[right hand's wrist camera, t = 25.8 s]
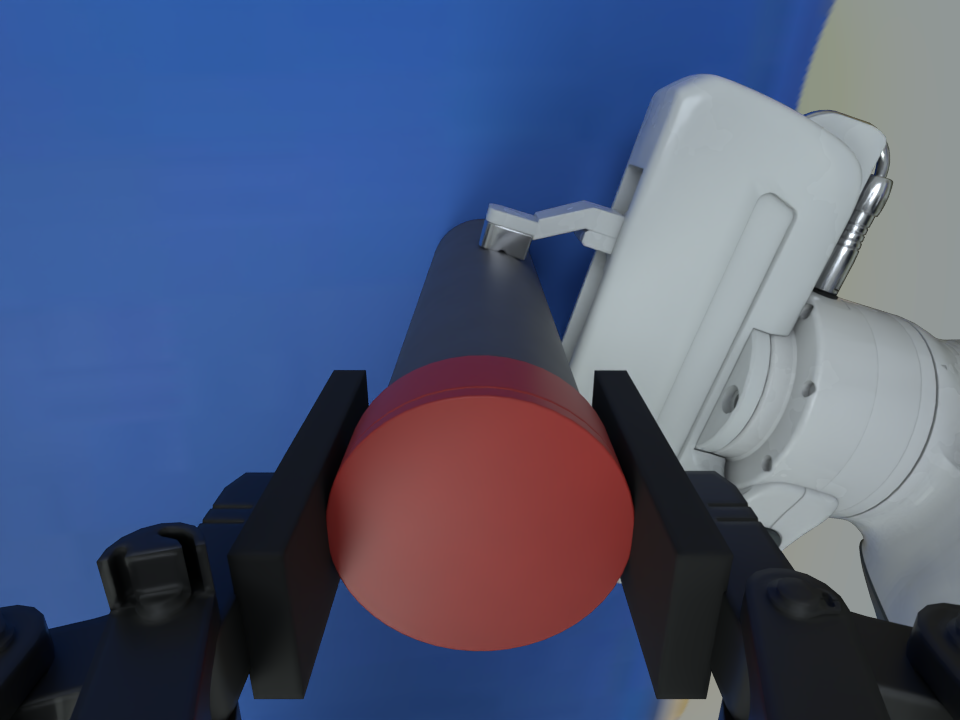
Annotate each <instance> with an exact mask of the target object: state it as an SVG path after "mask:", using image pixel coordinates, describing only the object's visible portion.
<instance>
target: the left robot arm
mask: <svg viewBox="0 0 960 720" xmlns="http://www.w3.org/2000/svg"><path fill="white" fill-rule="evenodd" d="M875 165H876V169H875V173H874V175H873V174H871V173H872V171H873V169H874V167H875ZM889 165H890V152H889V147H888V144H887V141H886V137H885V135H884V134H883V133H882V132H881V131H880V130H879V129H878V128H877V127H875V126H874V125H872V124H871V123H868V122H866V121H863V120H860V119H857V118H854V117H851V116H848V115H845V114H843V113H840V112H837V111H832V110H818V111H813V112H810V113H807V114H804V115H802V114H800V113H798V112H797V111H795V110H793V109H791V108H789V107H788V106H786V105H784V104H782V103H780V102H778V101H776V100H774V99H772V98H770V97H768V96H766V95H764V94H762V93H760V92H758V91H755V90H753V89H751V88H748V87H746V86H744V85H741V84H739V83H737V82H734V81H732V80H729V79H726V78H723V77H720V76H717V75H712V74H695V75H690V76H687V77H684V78H682V79H679V80H677V81H675V82H673V83H671V84H669V85H667V86H665V87H663V88H661V89H659V90H658V91H657V92H656V93H655V94H654V95H653V97H652V99H651V102H650V104H649V107H648V109H647V112H646V115H645V117H644V120H643V123H642V125H641V128H640V131H639V134H638V136H637V139H636V142H635V144H634V147H633V150H632V152H631V155H630V158H629V160H628V163H627V166H626V168H625V171H624V174H623V177H622V179H621V182H620V185H619V187H618V190H617V193H616V195H615V198H614V201H613V203H612V206H611V208H608V207H605V206H602V205H598V204H595V203H592V202H588V201H585V200H582V201H578V202H574V203H570V204H566V205H562V206H558V207H554V208H550V209H546V210H542V211H538V212H535V214H534V215H531V214H528V213H524V212H521V211H518V210H515V209H511V208H508V207H505V206H502V205H498V204H492V203H489V207H488V210H487V214H486V217H485V220H484V224H483V228H482V231H481V235H480V239H479V245H480V246H481V247H483V248H485V249H488V250H491V251H500V250H504V252H505V253H506V254H507V255H509V256H511V257H514V258H518V259H521V260H525V258H526V255H527V252H528V249H529V246H530V243H531V241H532V239H533V240H536V239H541V238H545V237H550V236H555V235H559V234H564V233H568V232H573V231H574V234H575V236H576V237H577V238H578V239H579V241H580V242H581V243H582V244H583V245H584V246H586V247H590V248H593V249H595V252H594V255H593V257H592V260H591V263H590V265H589V268H588V271H587V273H586V276H585V279H584V282H583V284H582V287H581V290H580V292H579V295H578V298H577V300H576V303H575V306H574V308H573V311H572V314H571V317H570V319H569V322H568V325H567V327H566V330H565V333H564V335H563V338H562V341H561V343H562V345H563V348H564V351H565V354H566V357H567V359H568V362H569V365H570V368H571V371H572V373H573V376H574V379H575V382H576V385H577V387H578V390H579V393H580V394H581V395H582V396H583V397H584V398H585V399H586V400H587V401H588V403H589V404H590V405H591V406H592V397H593V383H594V370H627V372H628V374H629V376H630V377H631V379H632V381H633V383H634V384H635V386H636V388H637V389H638V391H639V393H640V395H641V396H642V398H643V400H644V402H645V403H646V405H647V407H648V408H649V410H650V412H651V414H652V415H653V417H654V419H655V420H656V422H657V424H658V426H659V427H660V429H661V431H662V433H663V434H664V436H665V438H666V439H667V441H668V443H669V445H670V446H671V448H672V450H673V452H674V453H675V455H676V457H677V458H678V460H679V462H680V464H681V465H682V467H683V469H684V470H685V471H716V472H717V473H719V474H720V475H721V476H723V477H724V478H726V479H727V480H728V481H730V482H731V483H733V484H734V485H735V486H736V487H737V488H738V490H739V491H740V492H741V494H742V495H743V497H744V498H745V500H746V501H747V503H748V507H751V508H752V510H753V511H754V513H755V514H756V515H757V517H758V521H759V522H761V523H762V524H763V526H764V527H765V528H766V530H767V531H768V533H769V534H770V536H771V537H772V538H773V540H774V541H775V543H776V544H777V546H778V547H779V549H780V550H781V551H782V550H784V549H785V548H786V547H787V546H789V545H790V544H791V543H793V542H794V541H796V540H797V539H798V538H800V537H801V536H802V535H804V534H805V533H807V532H809V531H810V530H812V529H813V528H815V527H816V526H818V525H819V524H821V523H822V522H823V521H825V520H826V519H827V518H828V517H830V518H837V519H844V520H847V521H849V522H851V523H852V524H854V525H855V526H856V527H857V528H858V530H859V531H860V532H861V533H862V535H863V538H864V539H862V540H861V542H860V546H859V549H860V557H861V563H862V568H863V572H864V576H865V580H866V583H867V587H868V590H869V594H870V597H871V600H872V603H873V606H874V609H875V612H876V616H877V619H880V620H885V621H889V622H893V623H898V624H902V625H907V626H911V627H913V625H914V622H915V619H916V616H917V614H918V612H919V611H920V610H921V609H923V608H924V607H925V606H926V605H930V604H937V603H950V604H957V605H960V340H941V339H937V338H935V337H933V336H932V335H931V334H930V333H928V332H927V331H925V330H924V329H923V328H921V327H920V326H918V325H916V324H915V323H913V322H911V321H909V320H906V319H904V318H902V317H900V316H897V315H893V314H890V313H887V312H884V311H881V310H877V309H874V308H871V307H868V306H864V305H861V304H858V303H855V302H851V301H848V300H845V299H842V298H839V297H837V296H836V295H837V293H838V292H839V290H840V288H841V286H842V284H843V282H844V280H845V279H846V277H847V275H848V273H849V271H850V269H851V267H852V265H853V264H854V262H855V259H856V257H857V255H858V253H859V251H858V250H859V249H860V248H861V245H862V244H861V242H863V240H864V238H865V237H864V235H866V233H867V231H868V228H869V227H870V225H871V224H872V222H873V220H874V218H875V217H877V216H878V215H879V214H880V212H881V211H882V209H883V207H884V206H885V204H886V202H887V200H888V197H889V195H890V192H891V189H892V185H893V181H892V180H890V179H888V178H886V176H887V173H888V170H889ZM617 583H621V579H619V580H618V582H617ZM621 584H622V583H621Z"/></svg>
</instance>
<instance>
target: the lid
mask: <svg viewBox="0 0 960 720" xmlns="http://www.w3.org/2000/svg"><path fill="white" fill-rule="evenodd" d="M326 522H327V532H328V540H329V548H330V554H331V557H332V561H333V563H334V565H335V568H336V570H337V572H338V574H339V576H340V578H341V579H342V581H343V582H344V584H345V586H346V587H347V589H348V590H349V591H350V593H351V594H352V595H353V596H354V597H355V598H356V600H357V601H358V602H359V603H360V604H361V605H362V606H363V607H364V608H365V609H366V610H368V611H369V612H370V613H371V614H372V615H373V616H375V617H376V618H377V619H379V620H380V621H382V622H383V623H384V624H386V625H387V626H389V627H391V628H393V629H395V630H396V631H398V632H400V633H402V634H404V635H407V636H409V637H411V638H414V639H416V640H419V641H422V642H425V643H428V644H432V645H435V646H440V647H445V648H450V649H456V650H467V651H494V650H504V649H511V648H516V647H521V646H525V645H529V644H532V643H535V642H539V641H542V640H545V639H547V638H549V637H552V636H554V635H556V634H558V633H561V632H563V631H564V630H566V629H568V628H569V627H571V626H573V625H575V624H576V623H578V622H579V621H580V620H582V619H583V618H584V617H586V616H587V615H589V614H590V613H591V612H592V611H593V610H594V609H595V608H596V607H597V606H598V605H599V604H601V603H602V602H603V601H604V599H605V598H606V597H607V596H608V594H609V593H610V592H611V591H612V589H613V588H614V587H615V585H616V583H617V582H618V580H619V579H620V577H621V575H622V573H623V571H624V569H625V567H626V564H627V562H628V560H629V556H630V552H631V544H632V535H633V526H634V505H633V500H632V496H631V491H630V489H629V486H628V484H627V481H626V479H625V476H624V474H623V471H622V469H621V466H620V464H619V461H618V459H617V456H616V454H615V451H614V449H613V446H612V444H611V441H610V439H609V436H608V434H607V431H606V429H605V426H604V425H603V423H602V421H601V420H600V418H599V416H598V414H597V413H596V411H595V410H594V409H593V408H592V406H591V405H590V404H589V403H588V401H587V400H586V399H585V398H584V397H583V396H582V395H581V394H580V393H579V392H578V391H577V390H576V389H575V388H573V387H572V386H571V385H569V384H568V383H567V382H565V381H564V380H562V379H561V378H560V377H558V376H556V375H554V374H552V373H550V372H549V371H547V370H545V369H543V368H540V367H538V366H535V365H532V364H530V363H527V362H524V361H519V360H515V359H511V358H507V357H498V356H489V355H482V356H463V357H455V358H449V359H445V360H441V361H437V362H434V363H431V364H428V365H426V366H423V367H421V368H418V369H416V370H414V371H412V372H410V373H408V374H406V375H405V376H403V377H401V378H399V379H398V380H397V381H395V382H394V383H393V384H391V385H390V386H389V387H387V388H386V389H385V390H384V391H383V392H382V393H381V394H380V395H379V396H378V397H377V398H376V399H375V400H374V401H373V402H372V403H371V404H370V406H369V407H368V408H367V410H366V411H365V412H364V414H363V415H362V417H361V419H360V420H359V422H358V424H357V426H356V428H355V430H354V432H353V435H352V437H351V440H350V442H349V445H348V447H347V450H346V452H345V455H344V457H343V460H342V462H341V465H340V467H339V470H338V472H337V474H336V477H335V480H334V482H333V485H332V488H331V491H330V493H329V498H328V503H327V508H326Z"/></svg>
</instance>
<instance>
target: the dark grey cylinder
mask: <svg viewBox="0 0 960 720" xmlns="http://www.w3.org/2000/svg"><path fill="white" fill-rule="evenodd" d="M484 220H485V219H476V220H471V221H467V222H464V223H462V224H460V225H458V226H456V227H454V228H453V229H452V230H450V231H449V232H448V233H447V234H446V235H445V236H444V237H443V239H442V240H441V241H440V243H439V245H438V247H437V249H436V251H435V254H434V257H433V260H432V263H431V266H430V268H429V271H428V274H427V277H426V280H425V283H424V286H423V288H422V291H421V294H420V297H419V300H418V303H417V306H416V309H415V311H414V314H413V317H412V320H411V323H410V326H409V329H408V331H407V334H406V337H405V340H404V343H403V346H402V349H401V351H400V354H399V357H398V360H397V363H396V366H395V369H394V372H393V374H392V377H391V380H390V383H389V386H390V385H391V384H393V383H394V382H395V381H397V380H398V379H399V378H401V377H403V376H405V375H406V374H408V373H410V372H412V371H414V370H416V369H418V368H421V367H423V366H426V365H428V364H431V363H434V362H437V361H441V360H445V359H449V358H455V357H463V356H482V355H489V356H498V357H507V358H511V359H515V360H519V361H524V362H527V363H530V364H532V365H535V366H538V367H540V368H543V369H545V370H547V371H549V372H550V373H552V374H554V375H556V376H558V377H560V378H561V379H562V380H564V381H565V382H567V383H568V384H569V385H571V386H572V387H573V388H575V389H576V390H577V391H578V392H579V390H578V387H577V385H576V382H575V379H574V376H573V373H572V371H571V368H570V365H569V362H568V359H567V357H566V354H565V351H564V348H563V345H562V343H561V340H560V337H559V334H558V332H557V329H556V326H555V323H554V320H553V318H552V315H551V312H550V309H549V306H548V304H547V301H546V298H545V295H544V292H543V290H542V287H541V284H540V281H539V278H538V276H537V273H536V270H535V267H534V264H533V262H532V259H531V256H530V253H529V250H528V252H527V255H526V258H525V260H521V259H518V258H514V257H511V256H509V255H507V254H506V253H505V252H504V250H500V251H491V250H488V249H485V248H483V247H481V246H480V245H479V239H480V235H481V231H482V228H483V224H484ZM389 386H388V387H389Z"/></svg>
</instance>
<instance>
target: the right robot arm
mask: <svg viewBox="0 0 960 720" xmlns="http://www.w3.org/2000/svg"><path fill="white" fill-rule="evenodd" d="M368 407H369V405H368V392H367V379H366V370H334V371H333V373H332V375H331V376H330V378H329V380H328V381H327V383H326V385H325V387H324V388H323V390H322V392H321V394H320V395H319V397H318V399H317V400H316V402H315V404H314V406H313V407H312V409H311V411H310V413H309V414H308V416H307V418H306V419H305V421H304V423H303V425H302V426H301V428H300V430H299V431H298V433H297V435H296V437H295V438H294V440H293V442H292V444H291V445H290V447H289V449H288V450H287V452H286V454H285V456H284V457H283V459H282V461H281V463H280V464H279V466H278V468H277V469H276V471H275V473H245V474H243V475H242V476H241V477H239V478H238V479H236V480H235V481H234V482H232V483H231V484H229V485H228V486H227V487H225V488H224V490H223V491H222V493H221V494H220V495H219V497H218V498H217V500H216V501H215V503H214V504H213V508H212V509H210V510H209V511H208V513H207V514H206V516H205V517H204V519H203V523H202V524H199V526H198V527H195V526H193V525H189V524H185V523H180V522H179V523H161V524H157V525H153V526H149V527H145V528H141V529H139V530H137V531H135V532H133V533H130V534H128V535H126V536H124V537H122V538H120V539H119V540H118V541H116V542H115V543H114V544H112V545H111V546H110V547H108V548H107V549H106V550H105V551H104V553H103V554H102V555H101V557H100V558H99V559H98V561H97V565H98V569H99V572H100V576H101V579H102V583H103V586H104V589H105V593H106V596H107V600H108V603H109V607H110V610H111V611H110V614H108V615H105V616H102V617H98V618H95V619H91V620H86V621H82V622H78V623H73V624H69V625H65V626H60V627H56V628H52V629H48V627H47V624H46V621H45V618H44V615H43V614H42V613H41V612H39V611H38V610H37V609H36V608H34V607H29V606H21V605H14V606H8V607H1V608H0V720H241V714H240V708H239V704H238V699H239V697H240V694H241V692H242V689H243V687H244V685H245V682H246V680H247V677H248V675H249V674H250V680H251V685H252V690H253V695H254V699H304V696H305V692H306V689H307V686H308V683H309V679H310V676H311V673H312V669H313V666H314V663H315V660H316V656H317V653H318V650H319V646H320V643H321V640H322V637H323V633H324V630H325V627H326V623H327V620H328V617H329V613H330V610H331V607H332V604H333V600H334V597H335V594H336V590H337V587H338V584H339V581H340V576H339V574H338V572H337V570H336V568H335V565H334V563H333V561H332V557H331V554H330V548H329V540H328V532H327V522H326V508H327V503H328V498H329V493H330V491H331V488H332V485H333V482H334V480H335V477H336V474H337V472H338V470H339V467H340V465H341V462H342V460H343V457H344V455H345V452H346V450H347V447H348V445H349V442H350V440H351V437H352V435H353V432H354V430H355V428H356V426H357V424H358V422H359V420H360V419H361V417H362V415H363V414H364V412H365V411H366V410H367V408H368ZM592 408H593V409H594V410H595V411H596V413H597V414H598V416H599V418H600V420H601V421H602V423H603V425H604V426H605V429H606V431H607V434H608V436H609V439H610V441H611V444H612V446H613V449H614V451H615V454H616V456H617V459H618V461H619V464H620V466H621V469H622V471H623V474H624V476H625V479H626V481H627V484H628V486H629V489H630V491H631V496H632V500H633V505H634V526H633V535H632V544H631V552H630V556H629V560H628V562H627V564H626V567H625V569H624V571H623V573H622V575H621V577H620V579H621V583H622V586H623V589H624V593H625V596H626V599H627V602H628V606H629V609H630V612H631V616H632V619H633V622H634V625H635V629H636V632H637V635H638V639H639V642H640V645H641V649H642V652H643V655H644V658H645V662H646V665H647V668H648V672H649V675H650V678H651V681H652V685H653V688H654V691H655V695H656V698H657V699H706V697H707V692H708V687H709V681H710V676H711V671H712V673H713V676H714V678H715V681H716V683H717V685H718V688H719V690H720V693H721V695H722V697H723V699H722V704H721V708H720V713H719V718H718V720H960V605H957V604H950V603H937V604H930V605H926V606H925V607H924V608H923V609H921V610H920V611H919V612H918V614H917V616H916V619H915V622H914V625H913V627H911V626H907V625H902V624H898V623H893V622H889V621H885V620H880V619H876V618H872V617H867V616H864V615H860V614H857V613H853V612H850V610H849V609H848V607H847V606H846V604H845V602H844V601H843V599H842V598H841V596H840V595H838V594H837V593H836V592H835V591H834V590H832V589H831V588H830V587H829V586H828V585H826V584H825V583H823V582H821V581H819V580H817V579H815V578H813V577H811V576H809V575H808V574H804V573H801V572H797V571H795V570H794V569H793V567H792V566H791V564H790V563H789V562H788V560H787V559H786V557H785V556H784V554H783V553H782V551H781V550H780V549H779V547H778V546H777V544H776V543H775V541H774V540H773V538H772V537H771V536H770V534H769V533H768V531H767V530H766V528H765V527H764V526H763V524H762V523H761V522H759V521H758V517H757V515H756V514H755V513H754V511H753V510H752V508H751V507H748V503H747V501H746V500H745V498H744V497H743V495H742V494H741V492H740V491H739V490H738V488H737V487H736V486H735V485H734V484H733V483H731V482H730V481H728V480H727V479H726V478H724V477H723V476H721V475H720V474H719V473H717V472H716V471H685V470H684V469H683V467H682V465H681V464H680V462H679V460H678V458H677V457H676V455H675V453H674V452H673V450H672V448H671V446H670V445H669V443H668V441H667V439H666V438H665V436H664V434H663V433H662V431H661V429H660V427H659V426H658V424H657V422H656V420H655V419H654V417H653V415H652V414H651V412H650V410H649V408H648V407H647V405H646V403H645V402H644V400H643V398H642V396H641V395H640V393H639V391H638V389H637V388H636V386H635V384H634V383H633V381H632V379H631V377H630V376H629V374H628V372H627V370H594V383H593V397H592Z"/></svg>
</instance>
